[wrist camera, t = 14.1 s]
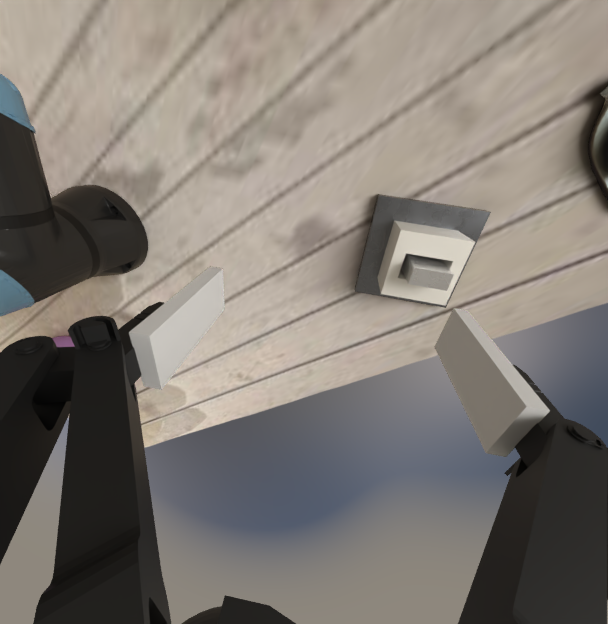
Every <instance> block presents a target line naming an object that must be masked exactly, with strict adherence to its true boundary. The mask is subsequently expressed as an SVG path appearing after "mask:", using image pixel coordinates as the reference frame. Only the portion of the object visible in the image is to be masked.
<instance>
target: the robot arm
mask: <svg viewBox="0 0 608 624" xmlns="http://www.w3.org/2000/svg"><path fill="white" fill-rule="evenodd" d="M34 133H35V129H34V127H33V126H32V125H31V124H30V120H29V117H28V114H27V111H26V108H25V105H24V101H23V98H22V96H21V94H20V92H19V90H18V89H17V88H16V86H15V85H14V84H13V83H12V82H11V81H10V80H9V79H7V78H6V77H5V76H3V75H2V74H0V316H3V315H6V314H9V313H12V312H14V311H17V310H20V309H23V308H27V307H30V306H32V305H33V304H34V303H36V302H38V301H41V300H43V299H45V298H47V297H49V296H51V295H54V294H56V293H58V292H60V291H62V290H65V289H67V288H69V287H71V286H73V285H76V284H78V283H80V282H82V281H84V280H86V279H89V278H91V277H96V276H108V275H119V274H124V273H127V272H130V271H132V270H134V269H136V268H137V267H139V266H140V265H141V264H142V263H143V262H144V260H145V258H146V256H147V251H148V241H147V236H146V232H145V229H144V227H143V225H142V223H141V221H140V219H139V217H138V216H137V214H136V213H135V211H134V210H133V209H132V208H131V207H130V205H129V204H128V203H127V202H126V201H125V200H123V199H122V198H121V197H120V196H118V195H117V194H115V193H114V192H112V191H110V190H108V189H106V188H103V187H100V186H96V185H83V186H75V187H71V188H68V189H66V190H65V191H63V192H61V193H59V194H58V195H56V196H54V197H53V198H51V197H50V194H49V190H48V186H47V182H46V178H45V175H44V171H43V167H42V163H41V159H40V156H39V152H38V148H37V144H36V140H35V137H34ZM224 309H225V307H224V282H223V268H217V267H211V266H210V267H209V268H207V269H206V270H205V271H204V272H202V273H201V274H200V275H199V276H197V277H196V278H195V279H194V280H193V281H191V282H190V283H189V284H188V285H186V286H185V287H184V288H183V289H181V290H180V291H179V292H178V293H177V294H175V295H174V296H173V297H172V298H170V299H169V300H168V301H167V302H165V303H163V302H158V303H156V304H153V305H151V306H149V307H147V308H146V309H145V310H143V311H142V312H141V314H138V315H137V316H135V317H134V319H131V320H130V321H129V322H128V323H126V324H125V325H124V326H122V327H121V328H120V329H118V328H117V325H116V322H115V320H114V319H113V318H110V317H107V316H95V317H89V318H85V319H82V320H80V321H78V322H76V323H74V324H73V325H72V326H70V328H69V330H68V332H69V335H70V337H71V339H72V342H73V344H74V346H75V347H57V346H56V344H55V342H54V340H53V339H52V338H50V337H47V336H35V337H28V338H24V339H21V340H18V341H17V342H15V343H12V344H10V345H9V346H7V347H6V348H5V349H4V350H3V351H2V352H1V353H0V564H1V561H2V559H3V557H4V555H5V553H6V551H7V548H8V546H9V544H10V541H11V540H12V537H13V535H14V533H15V531H16V529H17V527H18V525H19V522H20V520H21V518H22V516H23V514H24V511H25V509H26V507H27V505H28V503H29V500H30V498H31V496H32V494H33V492H34V489H35V487H36V485H37V483H38V481H39V479H40V476H41V474H42V472H43V470H44V468H45V466H46V463H47V461H48V459H49V457H50V454H51V453H52V450H53V448H54V446H55V444H56V442H57V439H58V437H59V435H60V433H61V431H62V429H63V426H64V424H65V422H66V420H67V418H68V416H69V425H68V436H67V445H66V456H65V465H64V476H63V486H62V495H61V506H60V516H59V526H58V537H57V546H56V556H55V566H54V573H53V579H52V581H51V584H50V586H49V587H48V588H47V589H46V590H45V591H44V593H43V594H42V595H41V597H40V600H39V603H38V605H37V609H36V613H35V618H34V623H33V624H171V619H170V612H169V606H168V600H167V595H166V590H165V587H164V582H163V578H162V572H161V566H160V558H159V552H158V545H157V537H156V530H155V523H154V515H153V509H152V502H151V494H150V487H149V480H148V472H147V465H146V458H145V451H144V443H143V436H142V429H141V422H140V415H139V408H138V400H137V393H136V387H135V384H134V383H135V382H136V381H137V380H138V379H139V378H140V376H141V378H142V382H143V385H144V386H145V387H151V388H156V389H161V390H162V389H163V387H164V386H165V385H166V383H167V382H168V381H169V380H170V378H171V377H172V376H173V375H174V373H175V372H176V371H177V369H178V368H179V367H180V366H181V364H182V363H183V362H184V360H185V359H186V358H187V357H188V355H189V354H190V353H191V352H192V350H193V349H194V348H195V346H196V345H197V344H198V343H199V341H200V340H201V339H202V338H203V336H204V335H205V334H206V332H207V331H208V330H209V329H210V327H211V326H212V325H213V323H214V322H215V321H216V320H217V318H218V317H219V316H220V315H221V313H222V312H223V311H224ZM435 349H436V351H437V353H438V355H439V357H440V359H441V362H442V364H443V366H444V368H445V369H446V372H447V374H448V376H449V378H450V380H451V382H452V384H453V386H454V388H455V390H456V392H457V394H458V396H459V399H460V400H461V403H462V405H463V407H464V409H465V411H466V413H467V415H468V417H469V419H470V421H471V423H472V425H473V427H474V429H475V431H476V433H477V436H478V438H479V439H480V442H481V444H482V446H483V448H484V450H485V452H486V453H488V454H493V455H498V456H504V457H506V456H507V455H508V454H509V453H510V452H511V451H512V450H513V449H514V448H516V450H517V452H518V453H519V455H520V457H521V458H519V459H518V460H517V461H516V462H515V463H514V464H513V465H512V466H511V467H510V468H509V469H508V470H507V471H506V472H505V474H506V475H507V476H508V475H509V474H510V473H511V476H510V479H509V482H508V485H507V487H506V490H505V493H504V496H503V499H502V501H501V504H500V507H499V510H498V513H497V516H496V518H495V521H494V524H493V527H492V530H491V532H490V536H489V538H488V541H487V544H486V546H485V549H484V552H483V555H482V558H481V561H480V563H479V566H478V569H477V572H476V575H475V577H474V580H473V583H472V586H471V589H470V592H469V594H468V597H467V600H466V603H465V606H464V608H463V611H462V614H461V617H460V620H459V623H458V624H607V599H608V448H607V447H606V445H605V444H604V443H603V441H602V440H601V439H600V438H599V437H598V436H597V435H595V434H594V433H593V432H592V431H591V430H589V429H587V428H586V427H584V426H583V425H581V424H579V423H577V422H574V421H571V420H567V419H564V418H563V416H562V415H561V414H560V413H559V412H558V411H557V409H556V408H555V407H554V406H553V405H552V403H551V402H550V401H549V400H548V399H547V398H546V396H545V395H544V394H543V393H541V390H540V389H539V388H538V387H537V386H536V385H534V382H533V381H532V380H531V379H530V378H529V376H528V375H527V374H526V373H524V372H523V371H522V370H521V369H519V368H518V367H517V366H515V365H512V364H511V363H510V361H509V360H508V359H507V358H506V357H505V355H504V354H503V353H502V352H501V350H500V349H499V348H498V347H497V346H496V344H495V343H494V342H493V341H492V339H491V338H490V337H489V336H488V335H487V333H486V332H485V331H484V330H483V328H482V327H481V326H480V325H479V324H478V322H477V321H476V320H475V319H474V317H473V316H472V315H471V314H470V313H469V311H467V310H461V309H456V308H454V309H453V311H452V313H451V315H450V317H449V319H448V321H447V323H446V325H445V327H444V329H443V331H442V333H441V335H440V337H439V339H438V341H437V343H436V345H435ZM69 413H70V415H69ZM182 624H296V623H294V622H292V621H291V620H290V619H288V618H287V617H285V616H284V615H282V614H281V613H279V612H278V611H276V610H275V609H273V608H272V607H271V606H268V605H264V604H260V603H256V602H251V601H247V600H243V599H238V598H234V597H230V596H225V598H224V601H223V605H222V606H221V607H216V608H212V609H209V610H206V611H203V612H201V613H199V614H197V615H195V616H193V617H191V618H189V619H188V620H186V621H185V622H183V623H182Z"/></svg>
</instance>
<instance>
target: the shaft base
mask: <svg viewBox="0 0 608 624" xmlns="http://www.w3.org/2000/svg"><path fill="white" fill-rule="evenodd" d="M490 213H491V212H489V211H486V210H480V209H473V208H466V207H460V206H453V205H446V204H440V203H433V202H426V201H420V200H413V199H406V198H400V197H393V196H386V195H380V194H378V197H377V201H376V205H375V209H374V213H373V217H372V221H371V225H370V229H369V233H368V237H367V241H366V246H365V250H364V254H363V258H362V262H361V266H360V270H359V274H358V278H357V282H356V286H355V291H356V292H361V293H367V294H372V295H378V296H384V297H389V298H395V299H400V300H406V301H412V302H417V303H423V304H428V305H434V306H440V307H445V308H446V306H447V304H448V302H449V300H450V298H451V295H452V293H453V291H454V289H455V287H456V285H457V283H458V281H459V278H460V276H461V274H462V272H463V270H464V268H465V266H466V264H467V261H468V259H469V257H470V255H471V253H472V251H473V249H474V247H475V244H476V242H477V240H478V238H479V236H480V234H481V232H482V230H483V227H484V225H485V223H486V221H487V219H488V217H489V215H490ZM394 220H395V221H401V222H407V223H413V224H420V225H426V226H432V227H438V228H445V229H451V230H457V231H459V232H461V233H462V234H464V235H466V236H467V237H469V238H470V239H472V240H473V241H475V244H474V246H473V248H472V250H471V253H470V255H469V257H468V259H467V261H466V263H465V265H464V267H463V270H462V272H461V274H460V276H459V278H458V280H457V282H456V284H455V286H454V289H453V291H452V293H451V295H450V297H449V299H448V301H447V303H446V306H445V305H439V304H434V303H428V302H423V301H417V300H412V299H406V298H401V297H395V296H390V295H384V294H381V292H380V287H379V283H378V278H377V277H378V274H379V270H380V267H381V264H382V260H383V257H384V253H385V250H386V247H387V243H388V240H389V236H390V233H391V230H392V226H393V223H394ZM401 269H402V271H403V274H404V276H405V278H406V280H407V282H408V284H410V285H416V286H422V287H427V288H433V289H439V290H445V291H447V289H448V287H449V285H450V283H451V280H452V278H453V276H454V274H453V273H452V271H451V270H450V269H449V268H448V267H447V266H446V265H445V264H444V263H443V261H442V260H441V259H437V258H431V257H425V256H419V255H413V254H407V253H406V255H405V258H404V261H403V264H402V267H401Z"/></svg>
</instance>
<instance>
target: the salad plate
mask: <svg viewBox="0 0 608 624" xmlns="http://www.w3.org/2000/svg"><path fill="white" fill-rule="evenodd" d="M600 94H601V95H602V96H603V97H605V102H604V105H603V108H602V110H601V112H600V114H599V116H598V118H597V120H596V123H595V125H594V128H593V130H592V133H591V136H590V140H589V146H588V151H589V158H590V161H591V166H592V170H593V172H594V174H595V176H596V178H597V180H598V183H599V185H600V187H601V189H602V191H603V193H604V195H605V197H606V198H607V200H608V86H607V87H606V88H605V89H604V90H603V91H602V92H601V93H600Z"/></svg>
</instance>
